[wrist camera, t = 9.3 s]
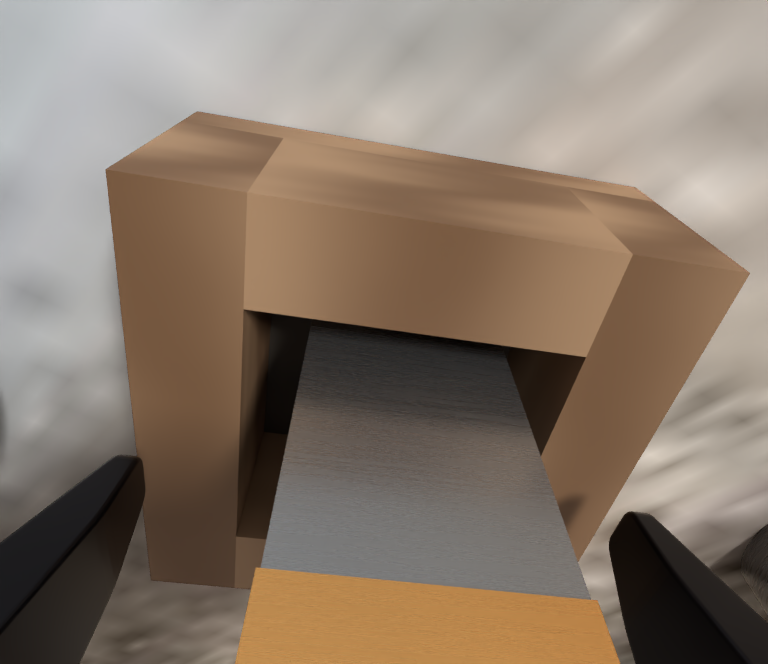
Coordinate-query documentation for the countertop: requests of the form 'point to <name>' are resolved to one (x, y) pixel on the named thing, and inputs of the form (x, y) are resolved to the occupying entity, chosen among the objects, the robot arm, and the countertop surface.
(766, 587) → the cylinder
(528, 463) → the square bit
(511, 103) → the countertop surface
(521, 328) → the block
